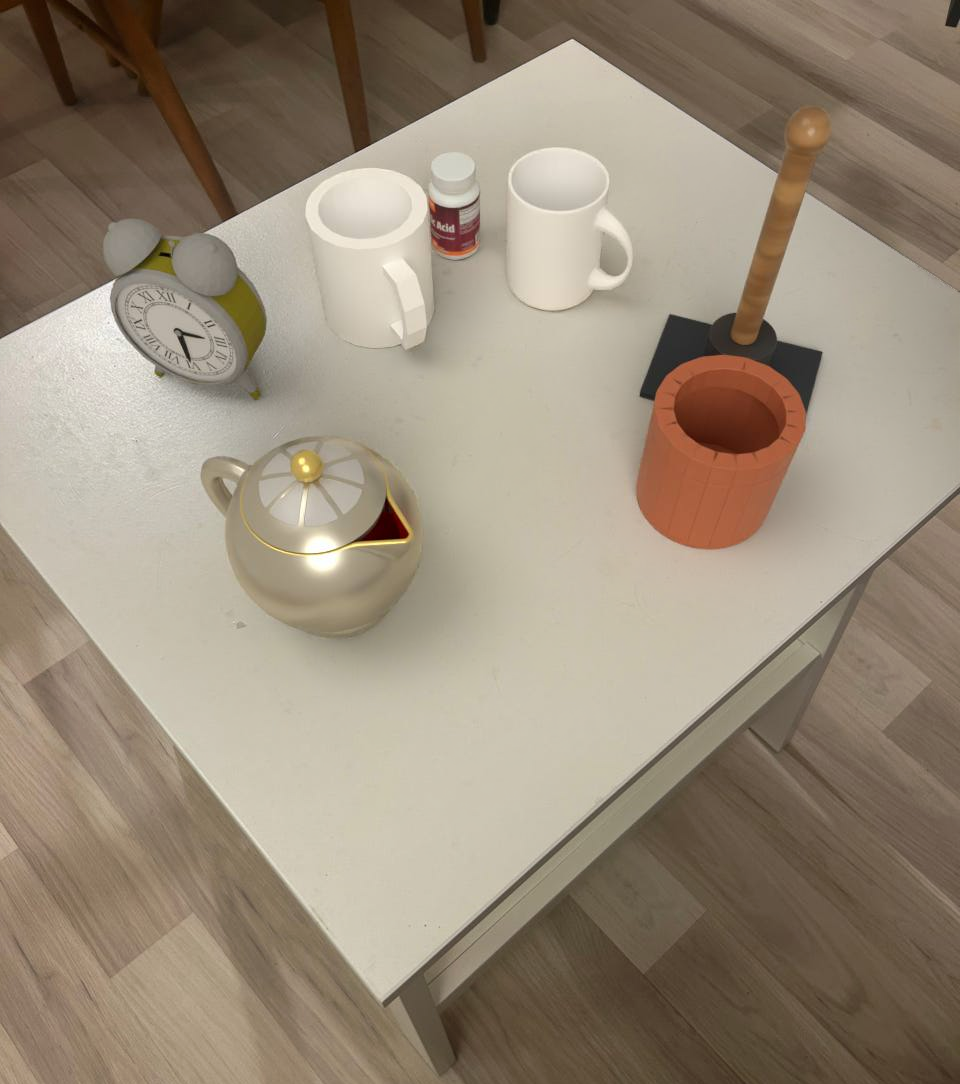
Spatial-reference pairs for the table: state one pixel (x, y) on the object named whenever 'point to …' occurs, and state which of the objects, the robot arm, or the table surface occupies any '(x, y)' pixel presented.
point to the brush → (772, 242)
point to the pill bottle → (454, 206)
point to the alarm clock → (184, 304)
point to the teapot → (319, 532)
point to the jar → (718, 450)
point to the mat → (689, 343)
